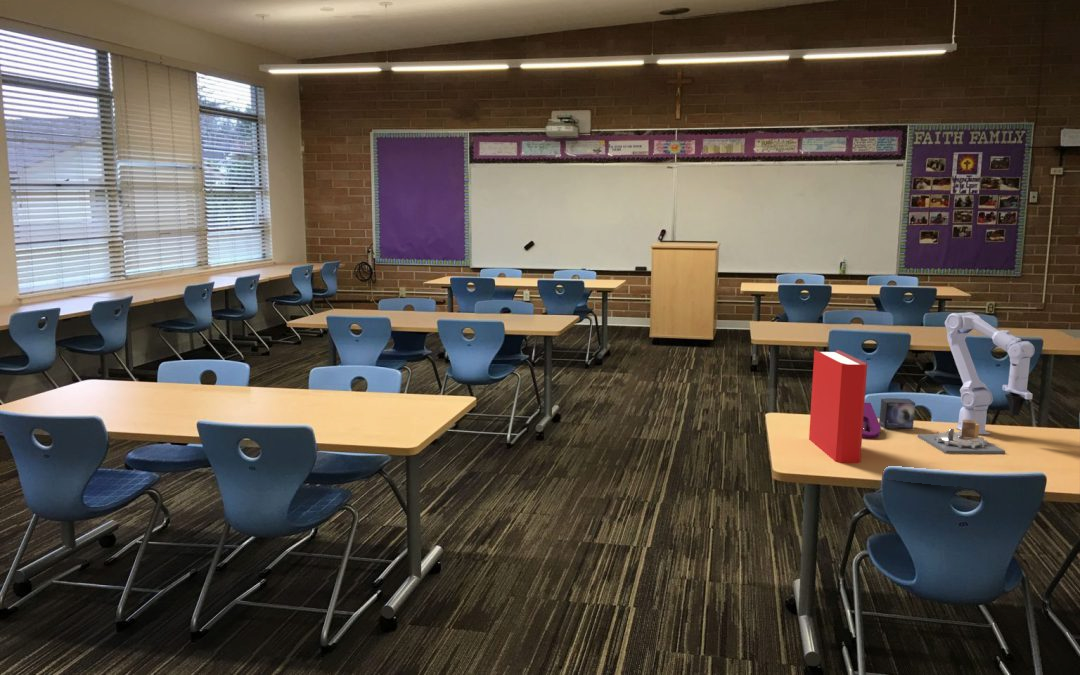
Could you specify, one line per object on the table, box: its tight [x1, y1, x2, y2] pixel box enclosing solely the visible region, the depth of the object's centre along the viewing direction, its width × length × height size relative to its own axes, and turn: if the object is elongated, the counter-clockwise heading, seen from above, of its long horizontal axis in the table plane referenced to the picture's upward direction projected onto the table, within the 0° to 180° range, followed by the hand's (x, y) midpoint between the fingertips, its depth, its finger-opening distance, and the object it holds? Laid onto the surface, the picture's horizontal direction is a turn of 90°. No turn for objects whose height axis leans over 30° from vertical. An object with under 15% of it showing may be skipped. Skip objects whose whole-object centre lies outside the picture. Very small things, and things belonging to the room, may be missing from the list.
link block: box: [961, 419, 976, 437], centre depth 294 cm, size 4×4×5 cm
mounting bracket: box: [862, 402, 882, 440], centre depth 308 cm, size 9×8×18 cm
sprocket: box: [934, 428, 988, 448], centre depth 292 cm, size 16×16×5 cm
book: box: [808, 349, 868, 464], centre depth 282 cm, size 27×8×32 cm, turn 1°
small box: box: [878, 397, 916, 430], centre depth 314 cm, size 11×6×10 cm, turn 88°
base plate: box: [917, 424, 1006, 455], centre depth 292 cm, size 20×20×6 cm
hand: (1014, 415), depth 295 cm, fingers closed
